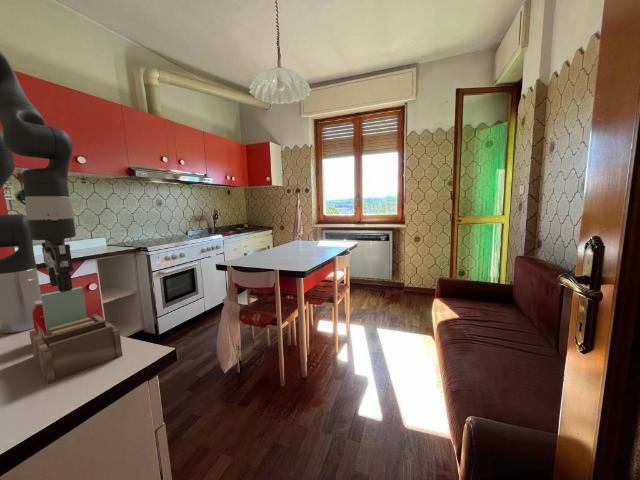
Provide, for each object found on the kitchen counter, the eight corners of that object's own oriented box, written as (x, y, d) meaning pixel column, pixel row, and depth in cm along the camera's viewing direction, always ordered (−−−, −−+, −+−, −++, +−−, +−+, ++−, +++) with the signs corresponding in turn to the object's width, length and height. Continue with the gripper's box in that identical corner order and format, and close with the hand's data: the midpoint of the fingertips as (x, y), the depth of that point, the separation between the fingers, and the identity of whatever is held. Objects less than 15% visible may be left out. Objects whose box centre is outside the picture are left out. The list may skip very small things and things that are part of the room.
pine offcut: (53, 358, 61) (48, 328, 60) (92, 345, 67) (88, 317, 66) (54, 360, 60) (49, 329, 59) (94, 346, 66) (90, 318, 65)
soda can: (46, 341, 72) (39, 297, 71) (80, 336, 75) (74, 293, 74) (31, 354, 66) (23, 306, 64) (69, 348, 69) (62, 301, 67)
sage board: (50, 353, 63) (40, 294, 62) (88, 341, 69) (81, 286, 67) (51, 355, 62) (42, 295, 61) (90, 343, 68) (82, 287, 66)
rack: (34, 362, 62) (28, 327, 61) (99, 341, 72) (95, 310, 71) (49, 391, 52) (42, 348, 51) (123, 361, 62) (118, 325, 61)
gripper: (22, 218, 63) (33, 287, 65) (32, 218, 54) (44, 298, 56) (65, 217, 69) (74, 280, 71) (81, 216, 60) (90, 288, 62)
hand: (61, 288), depth 64 cm, fingers open, 8 cm apart
